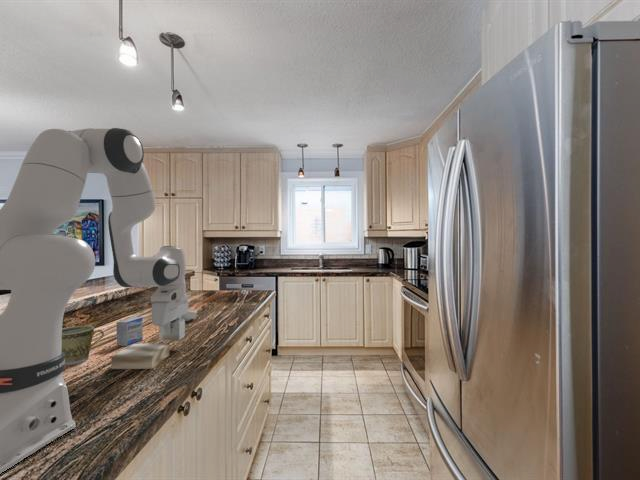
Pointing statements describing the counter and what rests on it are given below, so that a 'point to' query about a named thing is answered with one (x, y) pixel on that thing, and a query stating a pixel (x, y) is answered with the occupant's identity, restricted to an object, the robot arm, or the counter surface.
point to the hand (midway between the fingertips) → (172, 332)
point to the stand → (140, 356)
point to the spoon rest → (188, 315)
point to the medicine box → (129, 331)
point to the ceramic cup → (77, 343)
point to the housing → (173, 330)
